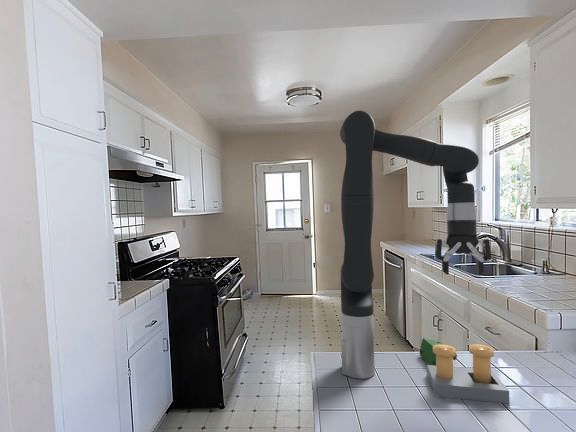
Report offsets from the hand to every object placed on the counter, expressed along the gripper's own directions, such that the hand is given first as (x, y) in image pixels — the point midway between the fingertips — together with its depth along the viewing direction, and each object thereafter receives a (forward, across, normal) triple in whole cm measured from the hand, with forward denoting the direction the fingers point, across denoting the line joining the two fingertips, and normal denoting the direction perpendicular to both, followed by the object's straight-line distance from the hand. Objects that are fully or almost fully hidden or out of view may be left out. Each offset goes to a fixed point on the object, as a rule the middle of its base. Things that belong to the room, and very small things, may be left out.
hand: (462, 274), depth 94 cm
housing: (+28, -3, -10) cm, 30 cm away
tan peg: (+28, +2, -9) cm, 29 cm away
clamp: (+28, -6, +5) cm, 29 cm away
